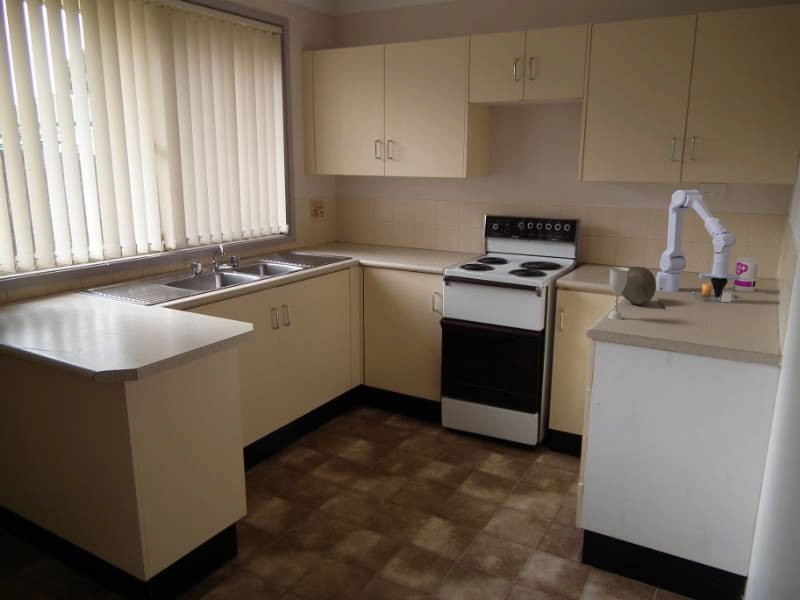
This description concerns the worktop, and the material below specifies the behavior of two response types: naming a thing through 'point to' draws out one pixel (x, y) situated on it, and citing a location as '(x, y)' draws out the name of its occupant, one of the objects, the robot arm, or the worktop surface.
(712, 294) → the frame
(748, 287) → the supplement can
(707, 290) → the cap
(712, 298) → the breaker panel
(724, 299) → the handle
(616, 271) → the chalice
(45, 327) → the worktop surface
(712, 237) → the robot arm
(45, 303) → the worktop surface
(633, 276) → the cantaloupe
